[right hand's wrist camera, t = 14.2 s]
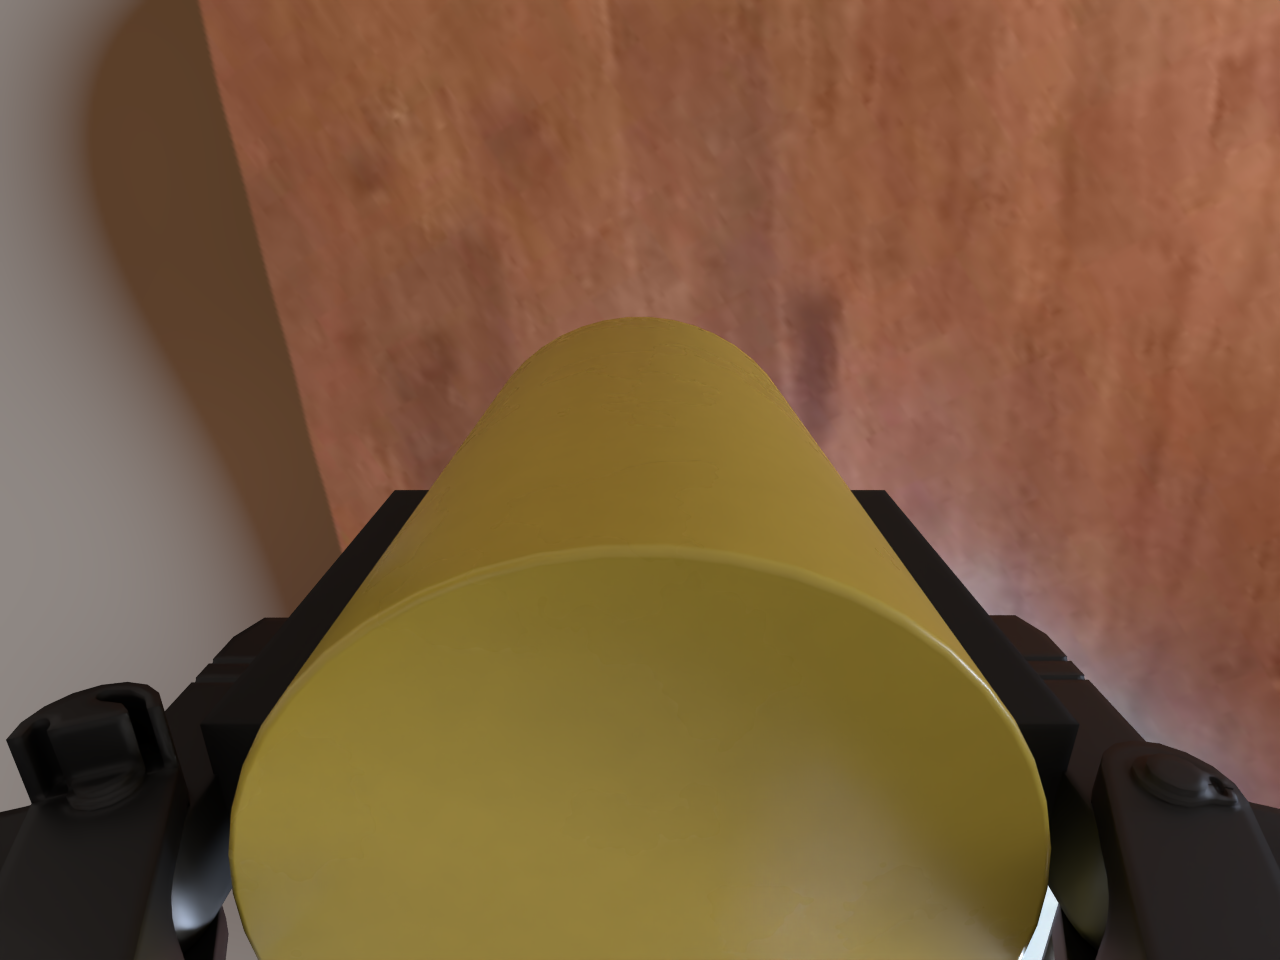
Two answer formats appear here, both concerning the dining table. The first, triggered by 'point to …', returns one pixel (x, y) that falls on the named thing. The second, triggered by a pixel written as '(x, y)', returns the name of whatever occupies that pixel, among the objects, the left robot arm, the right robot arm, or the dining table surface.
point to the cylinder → (639, 704)
